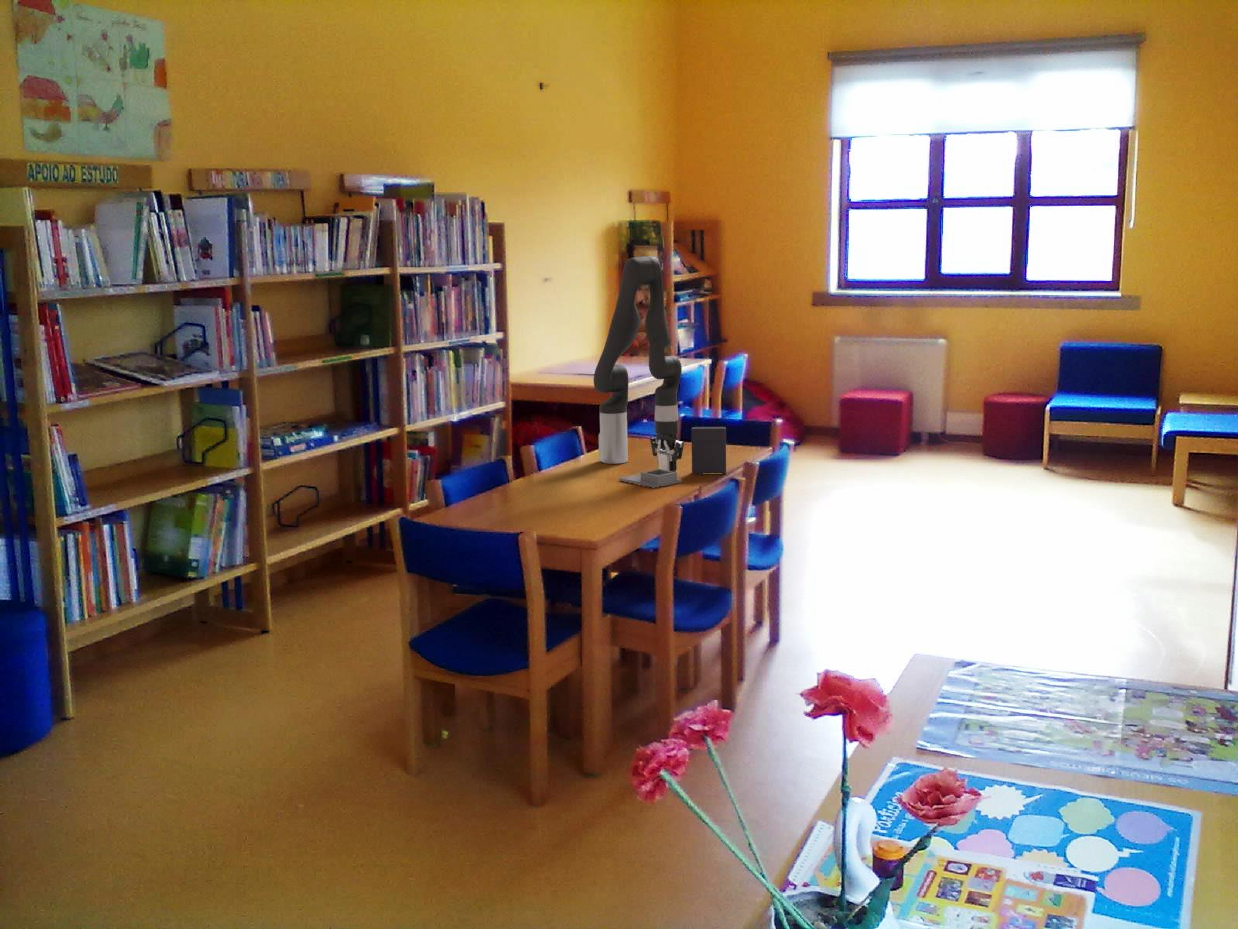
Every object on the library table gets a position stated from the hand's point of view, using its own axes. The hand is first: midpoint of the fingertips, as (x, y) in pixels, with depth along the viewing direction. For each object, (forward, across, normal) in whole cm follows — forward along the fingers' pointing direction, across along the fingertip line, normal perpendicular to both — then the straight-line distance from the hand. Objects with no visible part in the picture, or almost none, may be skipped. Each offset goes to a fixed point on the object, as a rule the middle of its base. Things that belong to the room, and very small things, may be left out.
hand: (667, 470), depth 387 cm
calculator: (+2, +8, +11) cm, 14 cm away
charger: (+1, 0, 0) cm, 1 cm away
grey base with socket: (+1, +4, -11) cm, 12 cm away
